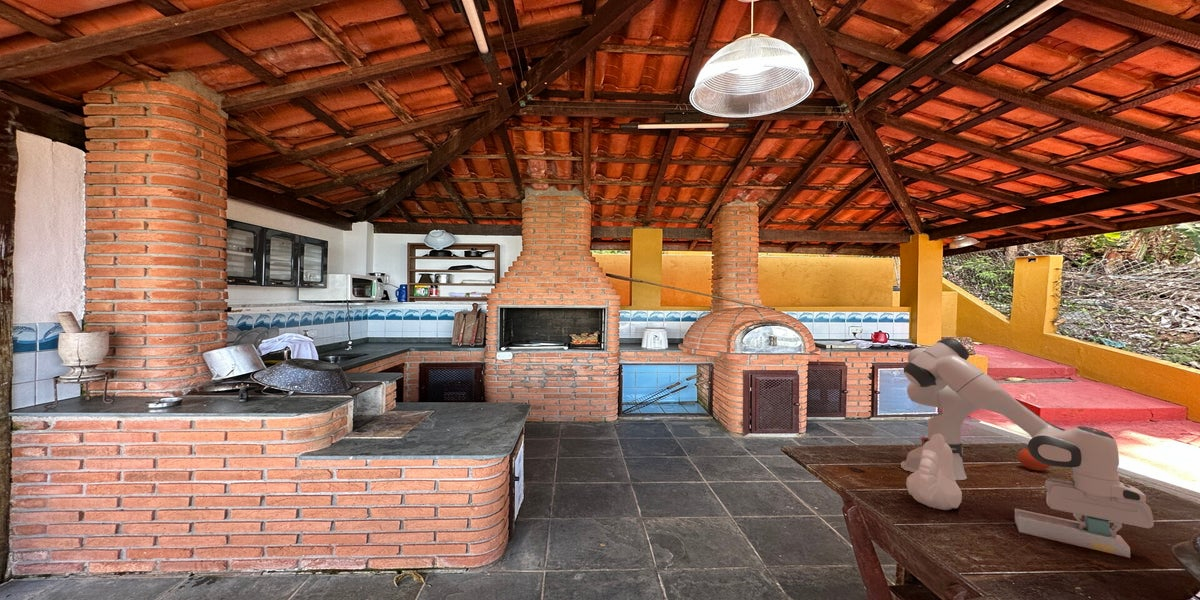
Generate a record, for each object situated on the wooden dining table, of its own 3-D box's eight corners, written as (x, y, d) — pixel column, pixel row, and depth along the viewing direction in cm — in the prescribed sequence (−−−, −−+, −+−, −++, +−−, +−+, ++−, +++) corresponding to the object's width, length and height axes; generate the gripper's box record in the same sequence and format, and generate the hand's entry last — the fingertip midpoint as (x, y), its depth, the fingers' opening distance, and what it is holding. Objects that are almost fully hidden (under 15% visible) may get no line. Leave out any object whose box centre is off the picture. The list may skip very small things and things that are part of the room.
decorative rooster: (921, 490, 163) (920, 426, 164) (972, 507, 149) (971, 436, 150) (886, 504, 151) (884, 435, 152) (938, 524, 137) (936, 447, 138)
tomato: (1017, 469, 185) (1016, 446, 186) (1018, 464, 192) (1018, 441, 193) (1051, 476, 178) (1050, 452, 178) (1051, 470, 185) (1050, 447, 185)
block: (1089, 539, 123) (1088, 518, 123) (1085, 533, 126) (1084, 513, 126) (1110, 544, 120) (1109, 522, 120) (1105, 538, 123) (1105, 517, 123)
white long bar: (1019, 535, 130) (1018, 517, 130) (1015, 525, 137) (1014, 508, 137) (1130, 562, 117) (1129, 542, 117) (1120, 549, 123) (1119, 530, 123)
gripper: (1046, 479, 127) (1048, 525, 127) (1155, 498, 115) (1156, 549, 114) (1042, 473, 132) (1043, 517, 132) (1146, 490, 120) (1147, 539, 119)
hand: (1097, 532), depth 123 cm, fingers closed on block, 4 cm apart
